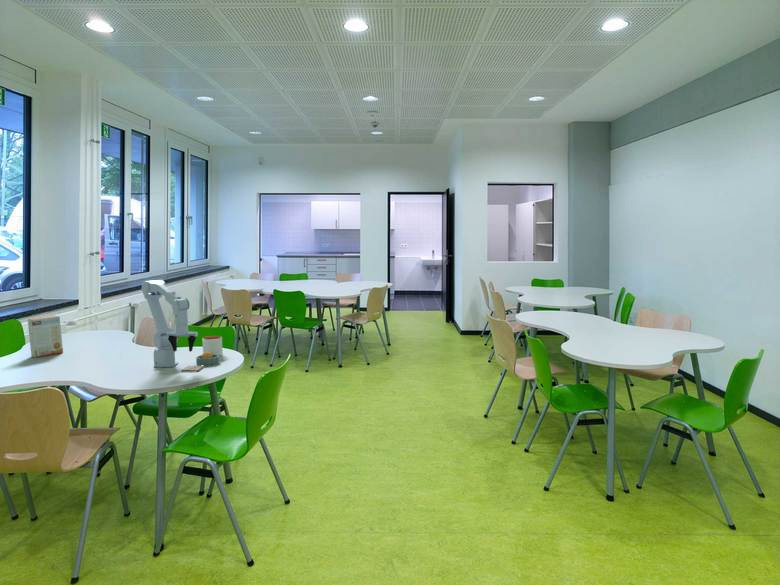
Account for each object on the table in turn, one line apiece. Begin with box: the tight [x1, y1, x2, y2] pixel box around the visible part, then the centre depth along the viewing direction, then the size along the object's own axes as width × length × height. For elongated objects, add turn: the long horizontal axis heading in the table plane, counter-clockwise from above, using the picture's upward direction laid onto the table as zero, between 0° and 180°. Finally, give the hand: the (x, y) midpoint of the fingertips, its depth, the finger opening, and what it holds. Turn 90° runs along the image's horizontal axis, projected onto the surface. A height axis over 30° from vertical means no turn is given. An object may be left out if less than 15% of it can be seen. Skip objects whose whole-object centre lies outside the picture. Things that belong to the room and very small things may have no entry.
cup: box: [201, 335, 223, 357], centre depth 287 cm, size 10×10×10 cm
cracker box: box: [27, 315, 64, 359], centre depth 291 cm, size 14×6×21 cm, turn 146°
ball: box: [201, 352, 213, 359], centre depth 271 cm, size 6×6×6 cm
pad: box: [181, 365, 205, 372], centre depth 260 cm, size 8×8×1 cm
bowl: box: [195, 354, 220, 366], centre depth 271 cm, size 11×11×4 cm
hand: (183, 351), depth 258 cm, fingers open, 7 cm apart
